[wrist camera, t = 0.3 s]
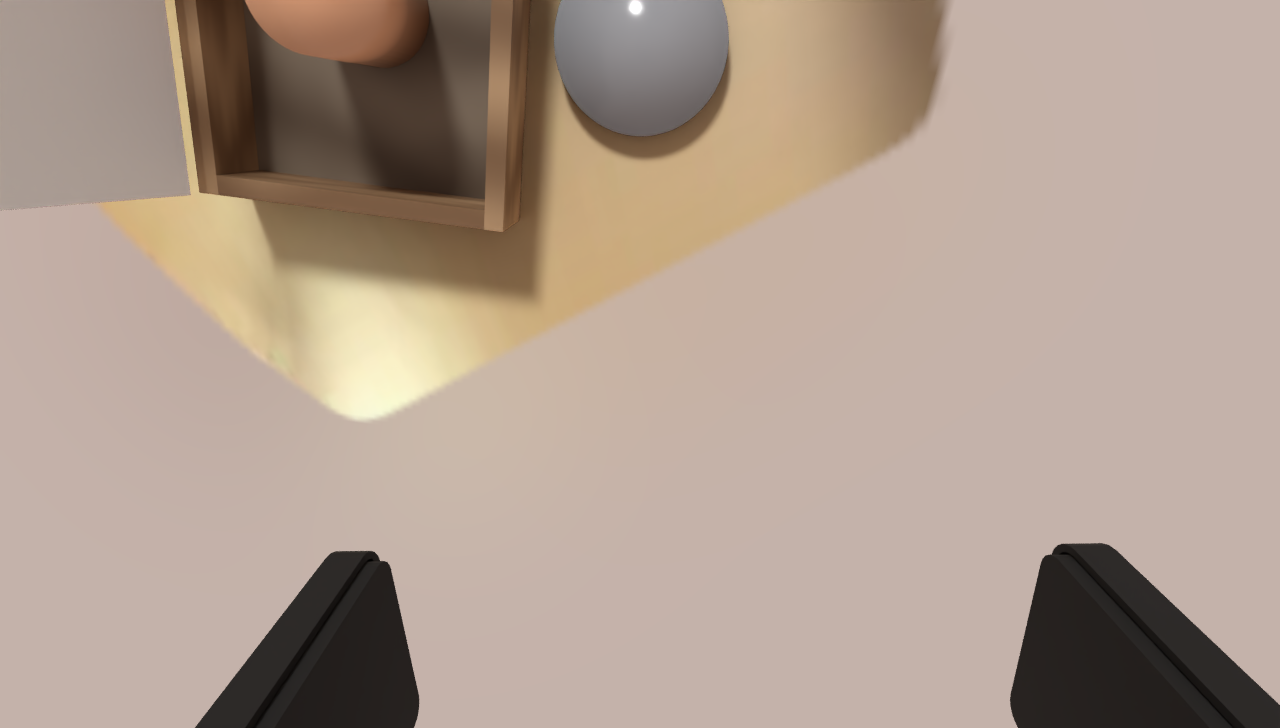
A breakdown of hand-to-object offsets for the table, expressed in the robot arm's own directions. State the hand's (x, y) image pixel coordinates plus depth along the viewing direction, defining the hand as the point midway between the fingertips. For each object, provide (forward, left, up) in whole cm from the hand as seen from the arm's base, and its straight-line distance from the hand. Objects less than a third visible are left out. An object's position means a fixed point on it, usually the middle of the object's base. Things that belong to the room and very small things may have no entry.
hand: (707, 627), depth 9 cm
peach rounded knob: (-10, -17, -30) cm, 36 cm away
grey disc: (-10, -3, -30) cm, 32 cm away
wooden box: (-10, -17, -30) cm, 36 cm away
